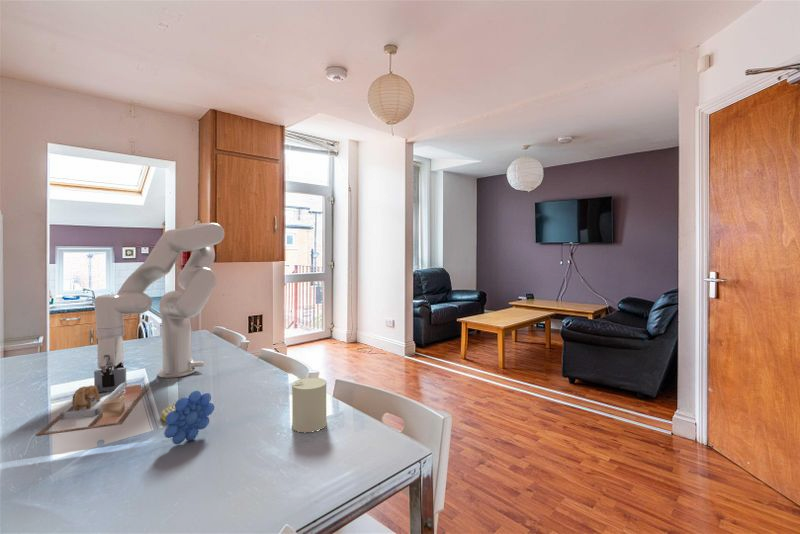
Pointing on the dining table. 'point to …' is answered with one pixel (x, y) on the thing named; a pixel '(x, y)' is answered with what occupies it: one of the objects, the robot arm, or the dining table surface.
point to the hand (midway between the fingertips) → (113, 381)
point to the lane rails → (94, 419)
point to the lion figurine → (85, 397)
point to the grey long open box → (119, 386)
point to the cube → (113, 407)
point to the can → (309, 404)
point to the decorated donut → (167, 411)
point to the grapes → (189, 417)
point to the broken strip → (130, 396)
